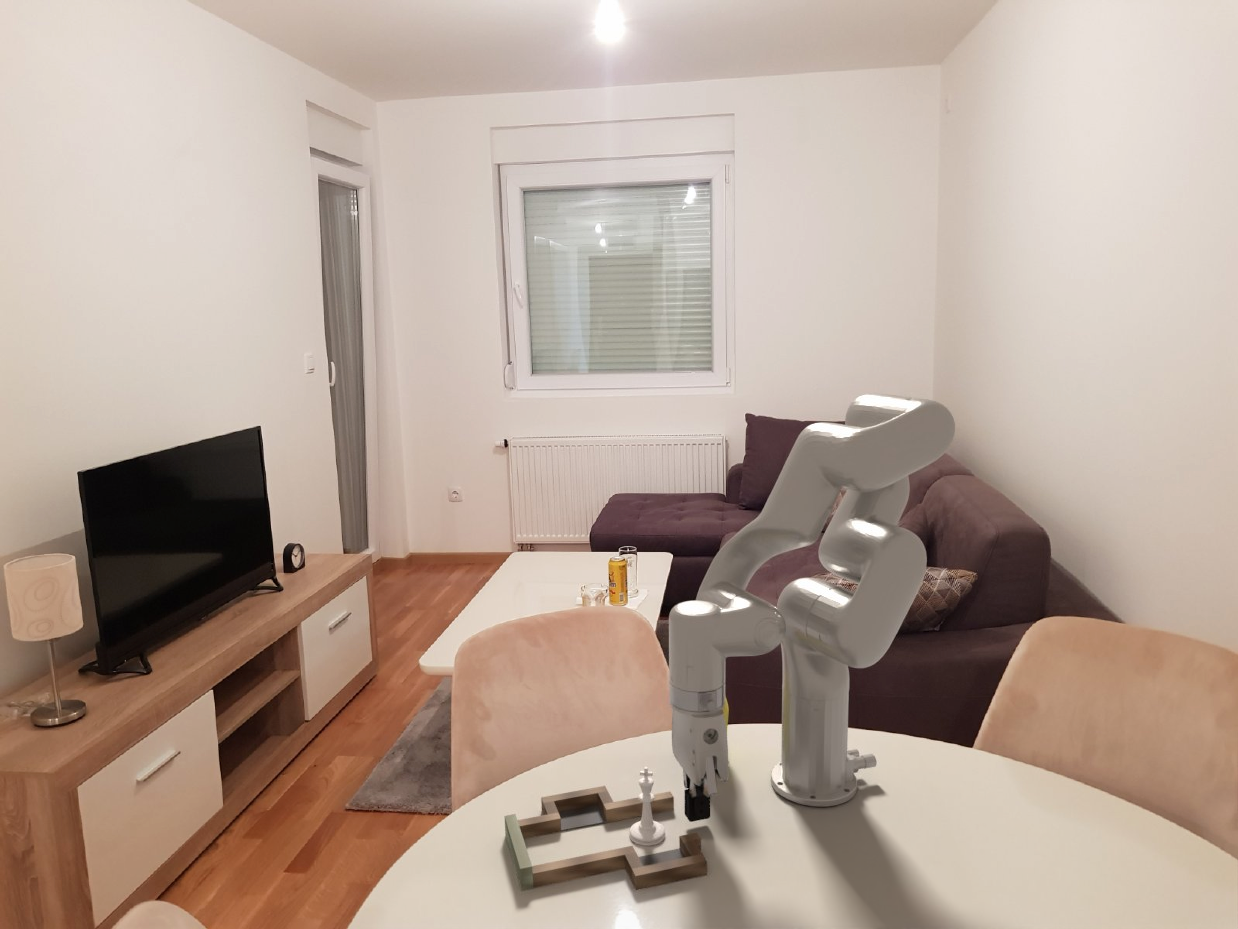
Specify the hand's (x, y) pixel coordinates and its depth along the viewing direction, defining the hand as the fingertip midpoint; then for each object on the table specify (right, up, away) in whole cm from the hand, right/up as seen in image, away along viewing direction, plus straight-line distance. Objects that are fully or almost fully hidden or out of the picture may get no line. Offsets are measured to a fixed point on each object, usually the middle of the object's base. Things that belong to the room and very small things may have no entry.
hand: (697, 816), depth 123 cm
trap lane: (-13, -2, -4) cm, 14 cm away
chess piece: (-7, -2, -2) cm, 7 cm away
